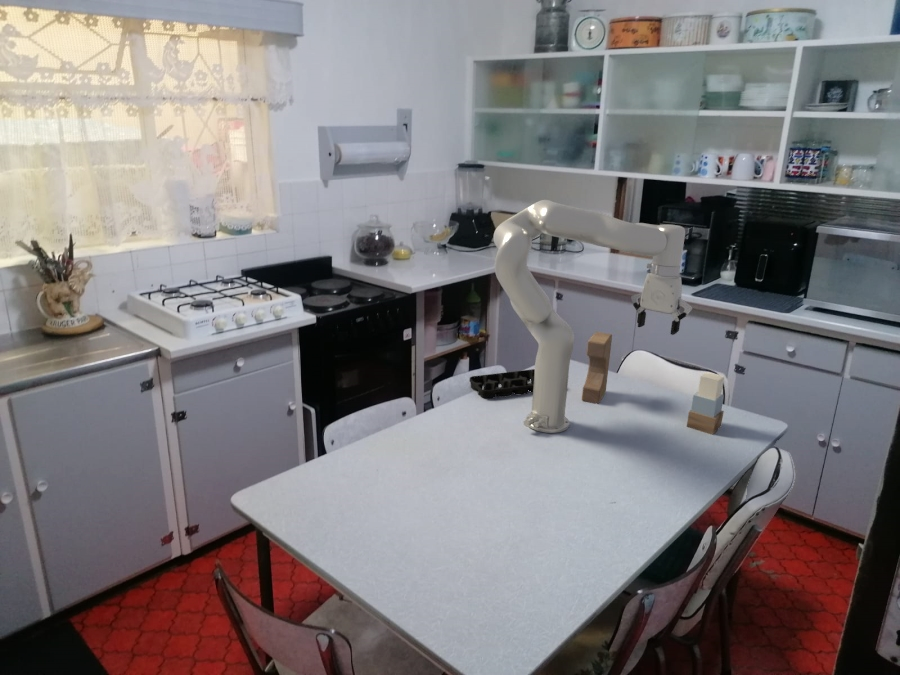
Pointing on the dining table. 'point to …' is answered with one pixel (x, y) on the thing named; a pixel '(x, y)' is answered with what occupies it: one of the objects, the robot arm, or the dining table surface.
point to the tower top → (706, 405)
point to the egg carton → (503, 383)
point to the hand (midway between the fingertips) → (657, 329)
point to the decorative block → (597, 367)
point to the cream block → (710, 385)
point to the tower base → (704, 422)
